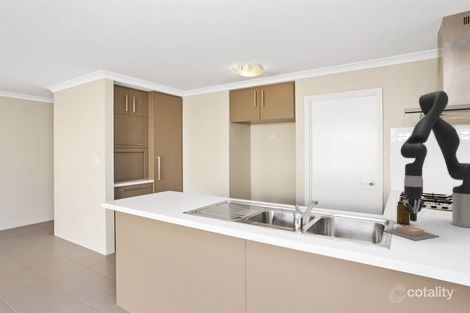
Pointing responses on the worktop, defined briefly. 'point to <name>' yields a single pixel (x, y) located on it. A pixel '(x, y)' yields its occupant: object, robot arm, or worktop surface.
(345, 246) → the worktop surface
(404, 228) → the tile
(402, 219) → the condiment
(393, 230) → the mat
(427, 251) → the worktop surface
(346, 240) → the worktop surface
